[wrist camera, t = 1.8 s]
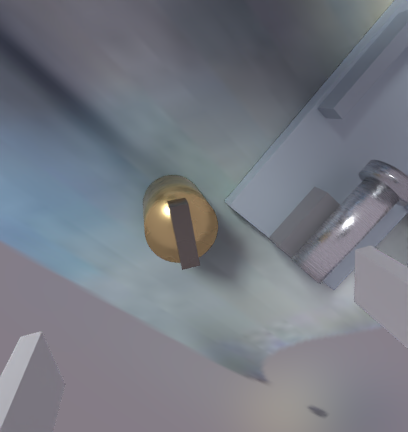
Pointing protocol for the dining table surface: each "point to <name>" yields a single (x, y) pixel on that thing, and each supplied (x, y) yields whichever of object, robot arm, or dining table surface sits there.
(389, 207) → the shaft
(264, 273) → the dining table surface
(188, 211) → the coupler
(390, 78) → the bench
